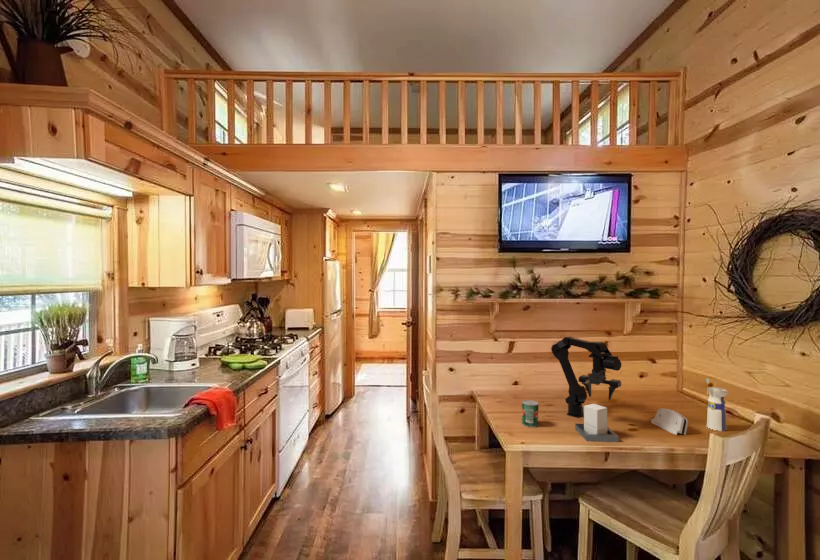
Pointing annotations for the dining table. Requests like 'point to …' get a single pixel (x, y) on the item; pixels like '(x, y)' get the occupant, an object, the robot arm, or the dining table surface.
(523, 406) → the canned tomato
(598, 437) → the square collar
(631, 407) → the dining table surface
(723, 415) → the white tall bottle
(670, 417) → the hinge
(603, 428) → the supplement box
